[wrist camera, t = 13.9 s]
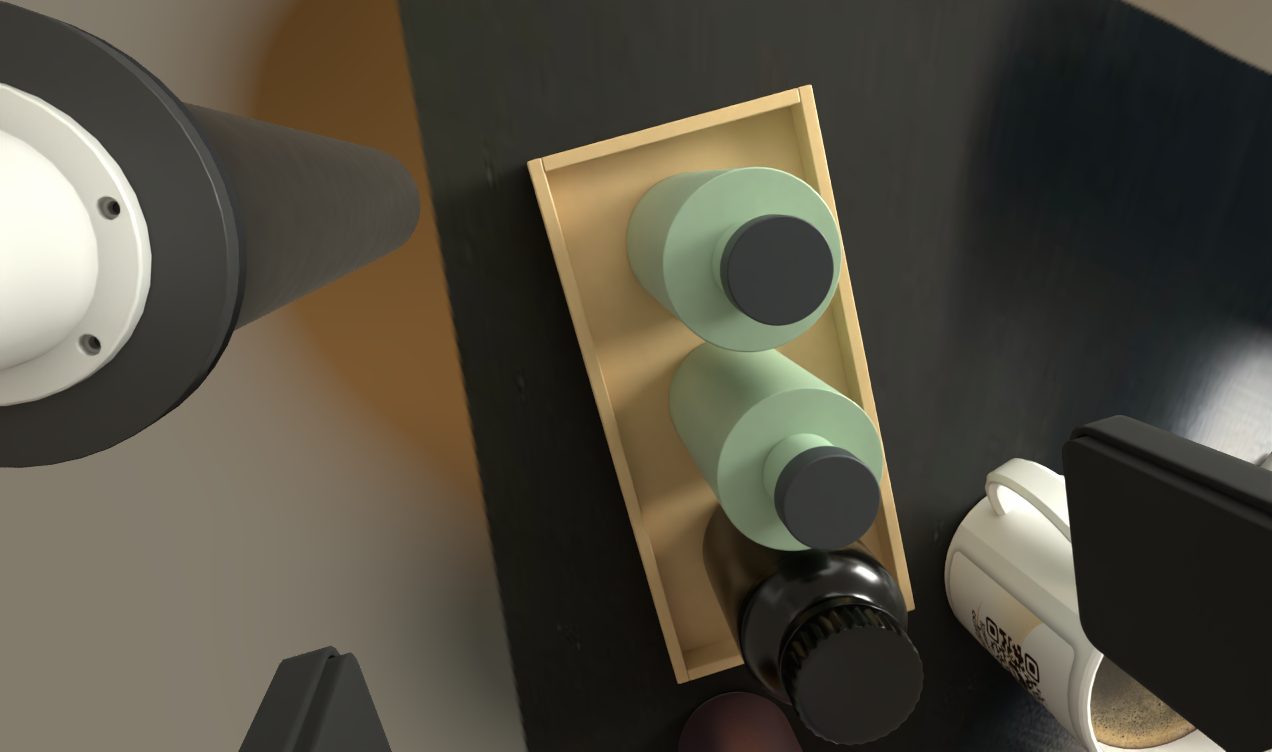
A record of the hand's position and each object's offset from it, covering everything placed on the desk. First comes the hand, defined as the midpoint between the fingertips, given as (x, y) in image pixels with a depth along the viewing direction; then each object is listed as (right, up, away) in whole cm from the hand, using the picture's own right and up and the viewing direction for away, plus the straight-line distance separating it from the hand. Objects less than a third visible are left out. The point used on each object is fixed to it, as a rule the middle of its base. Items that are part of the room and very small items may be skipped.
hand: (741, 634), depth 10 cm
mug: (+19, -5, +33) cm, 38 cm away
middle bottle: (+3, +2, +28) cm, 28 cm away
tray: (+3, +2, +28) cm, 29 cm away
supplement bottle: (+5, -5, +30) cm, 31 cm away
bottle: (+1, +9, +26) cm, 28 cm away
